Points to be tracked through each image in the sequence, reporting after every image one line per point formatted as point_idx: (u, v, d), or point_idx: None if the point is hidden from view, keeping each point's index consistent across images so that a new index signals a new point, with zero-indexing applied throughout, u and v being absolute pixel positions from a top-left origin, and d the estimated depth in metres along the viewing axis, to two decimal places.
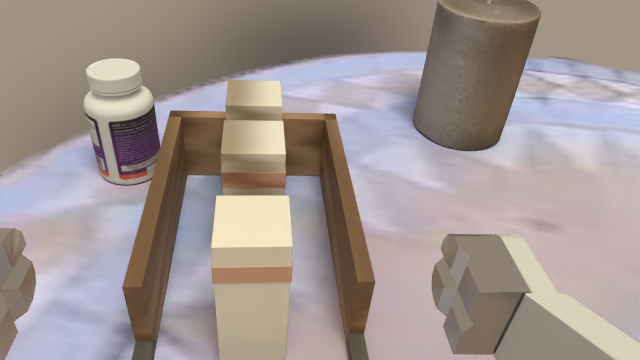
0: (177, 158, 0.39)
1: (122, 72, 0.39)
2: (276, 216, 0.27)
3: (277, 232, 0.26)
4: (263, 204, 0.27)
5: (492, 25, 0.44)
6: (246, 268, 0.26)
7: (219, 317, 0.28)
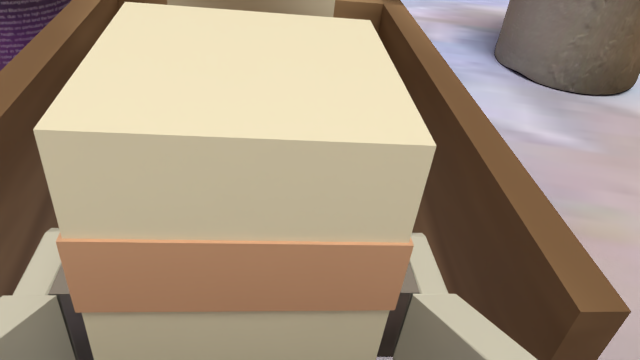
0: None
1: None
2: (340, 57, 0.07)
3: (353, 97, 0.06)
4: (290, 30, 0.08)
5: None
6: (217, 249, 0.06)
7: None
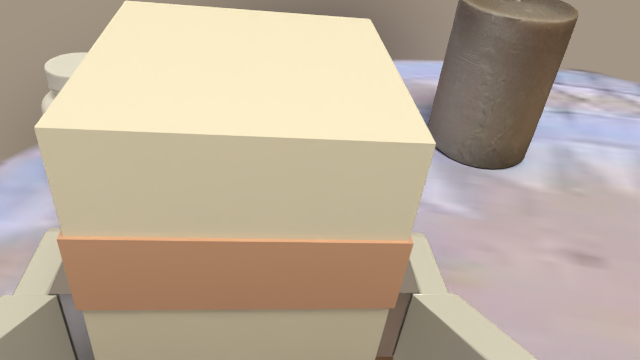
0: None
1: None
2: (340, 56, 0.07)
3: (352, 96, 0.06)
4: (290, 29, 0.08)
5: (525, 25, 0.38)
6: (217, 246, 0.06)
7: None
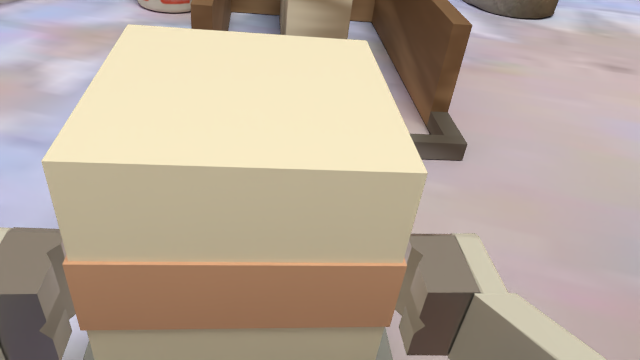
0: None
1: None
2: (336, 81, 0.07)
3: (347, 122, 0.06)
4: (287, 53, 0.08)
5: None
6: (217, 270, 0.06)
7: None
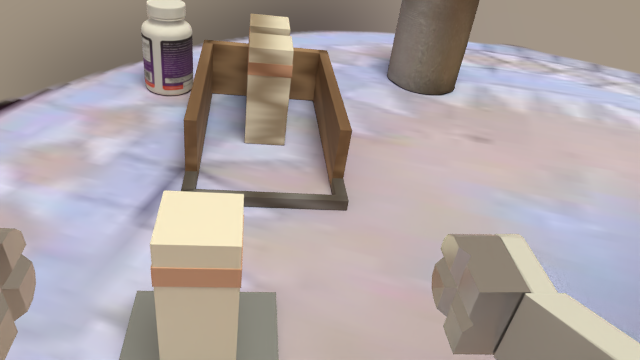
0: None
1: (173, 5, 0.53)
2: (227, 214, 0.24)
3: (226, 230, 0.23)
4: (215, 202, 0.25)
5: None
6: (190, 270, 0.23)
7: (160, 326, 0.25)
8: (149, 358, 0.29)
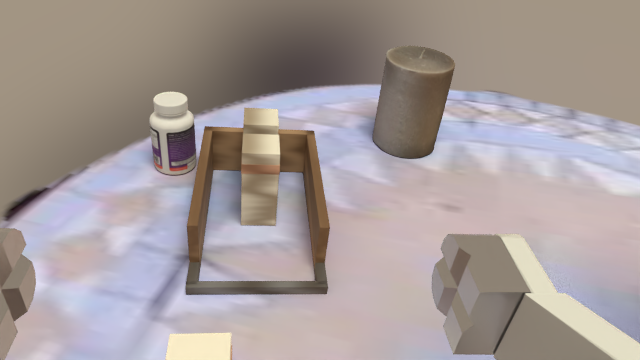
0: (210, 157, 0.61)
1: (176, 101, 0.61)
2: (218, 356, 0.32)
3: None
4: (208, 343, 0.33)
5: (419, 74, 0.66)
6: None
7: None
8: None
